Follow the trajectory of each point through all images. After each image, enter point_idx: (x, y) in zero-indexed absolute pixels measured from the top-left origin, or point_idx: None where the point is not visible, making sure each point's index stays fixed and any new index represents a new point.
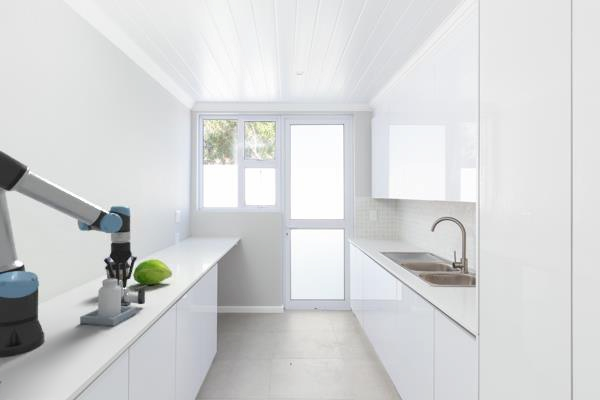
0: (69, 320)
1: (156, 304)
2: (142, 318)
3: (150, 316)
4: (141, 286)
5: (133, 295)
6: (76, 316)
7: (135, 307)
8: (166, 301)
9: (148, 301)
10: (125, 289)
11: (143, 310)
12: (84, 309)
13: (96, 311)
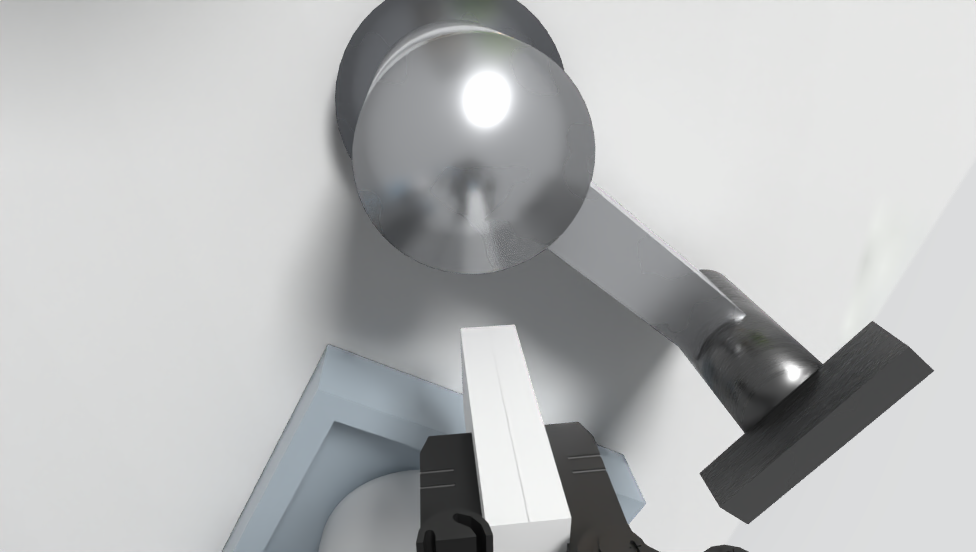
0: (53, 503)
1: (834, 223)
2: (663, 546)
3: (722, 519)
4: (828, 419)
5: (644, 309)
6: (57, 418)
7: (637, 508)
8: (962, 135)
9: (777, 65)
10: (544, 238)
11: (686, 380)
12: (3, 197)
13: (275, 525)
